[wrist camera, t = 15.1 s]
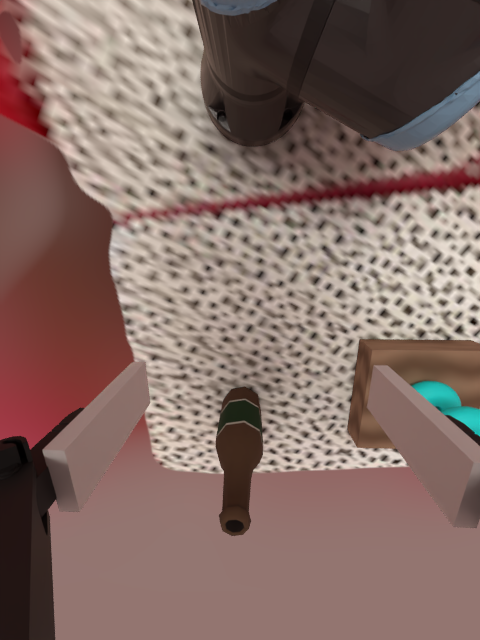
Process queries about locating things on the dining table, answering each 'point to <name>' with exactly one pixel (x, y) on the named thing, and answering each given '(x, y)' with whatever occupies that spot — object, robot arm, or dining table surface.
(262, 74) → the robot arm
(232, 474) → the beer bottle
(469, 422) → the donuts
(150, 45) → the dining table surface
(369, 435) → the walnut stand
